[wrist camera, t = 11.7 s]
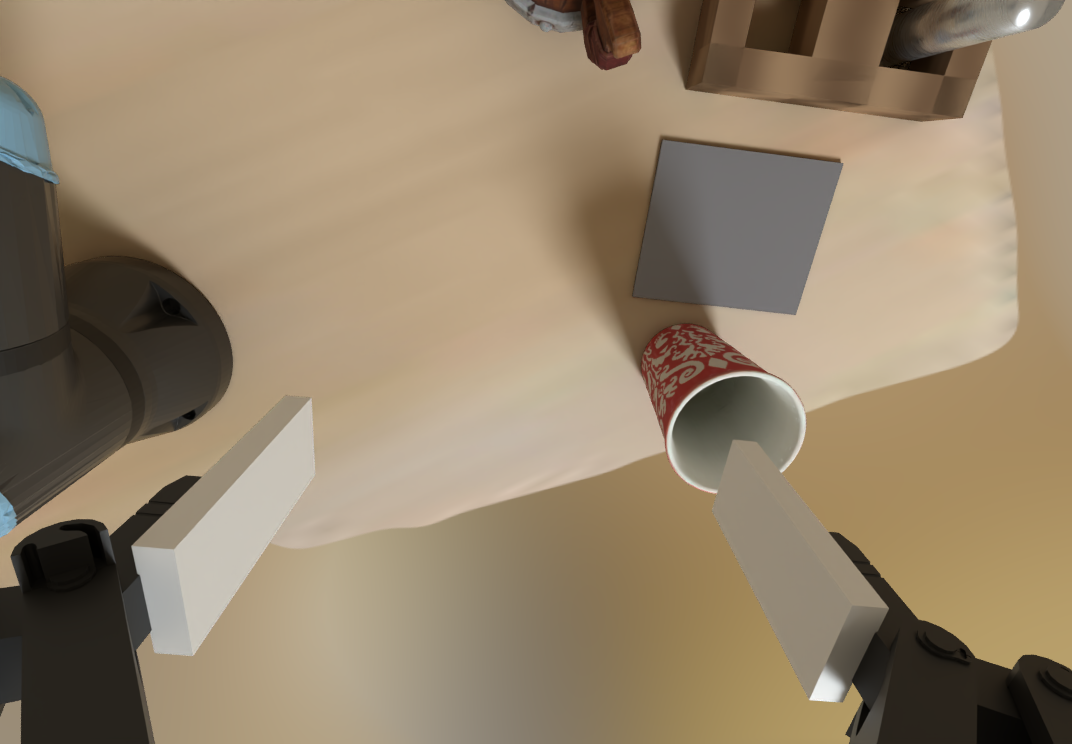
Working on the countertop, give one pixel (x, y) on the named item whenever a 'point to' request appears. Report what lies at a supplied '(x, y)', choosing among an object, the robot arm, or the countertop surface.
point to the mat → (733, 227)
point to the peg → (961, 25)
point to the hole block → (831, 62)
